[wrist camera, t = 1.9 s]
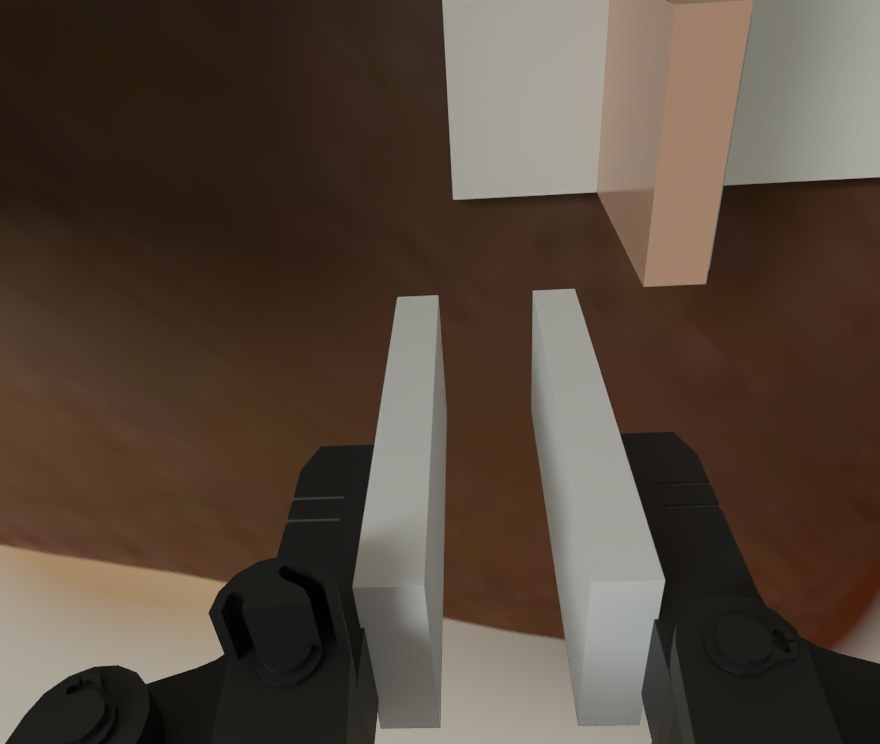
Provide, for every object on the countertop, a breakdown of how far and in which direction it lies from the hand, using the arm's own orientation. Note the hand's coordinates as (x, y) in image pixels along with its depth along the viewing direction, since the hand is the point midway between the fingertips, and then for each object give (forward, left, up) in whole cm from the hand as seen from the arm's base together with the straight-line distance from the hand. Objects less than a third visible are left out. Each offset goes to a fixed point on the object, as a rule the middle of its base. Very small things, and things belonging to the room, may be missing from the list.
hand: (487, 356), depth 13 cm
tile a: (+7, 0, -21) cm, 22 cm away
